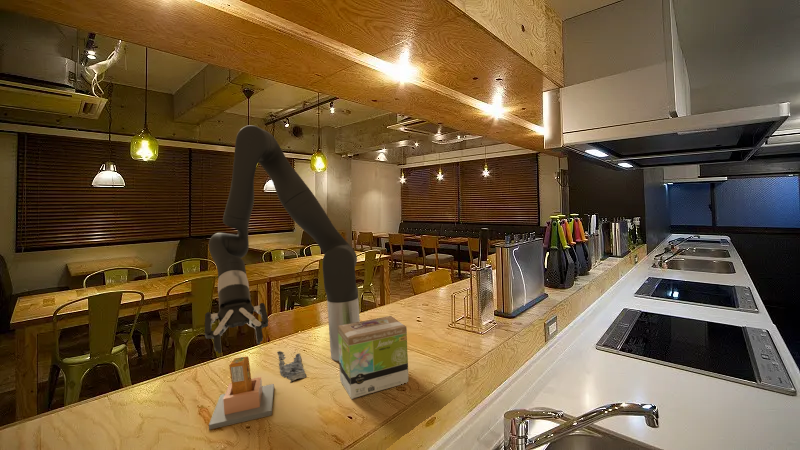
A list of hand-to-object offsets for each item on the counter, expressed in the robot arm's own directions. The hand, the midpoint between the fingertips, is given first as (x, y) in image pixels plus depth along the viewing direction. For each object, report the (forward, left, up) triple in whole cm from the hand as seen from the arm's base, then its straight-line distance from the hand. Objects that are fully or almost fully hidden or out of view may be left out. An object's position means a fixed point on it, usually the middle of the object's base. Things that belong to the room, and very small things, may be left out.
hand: (239, 347), depth 80 cm
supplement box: (-1, +5, -11) cm, 12 cm away
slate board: (-1, +5, -12) cm, 13 cm away
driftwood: (-11, -12, -13) cm, 21 cm away
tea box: (-31, +7, -12) cm, 34 cm away
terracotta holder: (-1, +5, -11) cm, 12 cm away
